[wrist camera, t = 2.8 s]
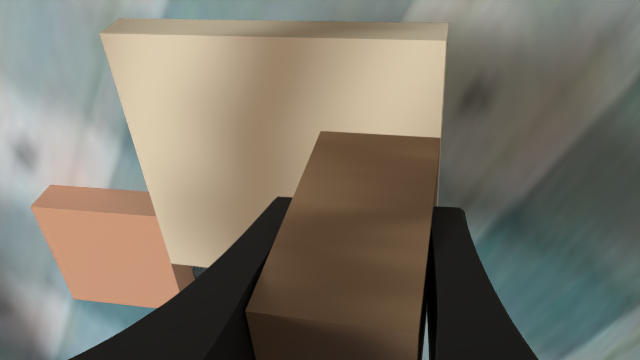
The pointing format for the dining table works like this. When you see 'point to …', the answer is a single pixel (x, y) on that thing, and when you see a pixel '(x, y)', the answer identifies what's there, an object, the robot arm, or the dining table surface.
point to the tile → (109, 245)
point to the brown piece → (296, 166)
